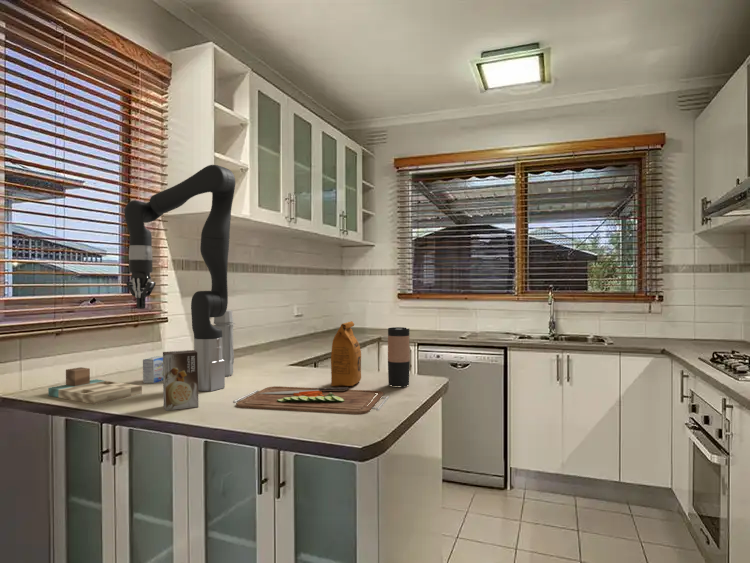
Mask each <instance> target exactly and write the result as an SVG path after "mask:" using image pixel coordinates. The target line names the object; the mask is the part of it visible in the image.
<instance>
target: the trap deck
mask: <svg viewBox="0 0 750 563" xmlns="http://www.w3.org/2000/svg"><path fill="white" fill-rule="evenodd" d="M47 391H48V392H47V393H48V396H49V397H52V398H53V397H54V398H58V399H65V400H70V401H75V402H81V403H87V404H91V405H97V404H103V403H107V402H111V401H116V400H120V399H124V398H125V399H126V398H129V397H133V396H137V395H142V393H143V386H142V385H138V384H130V383H123V382H117V381H110V380H103V379H98V378H97V379H90V384H85V385H79V386H70V385H66V384H63V385H62V384H61V385H56V386H52V387H48V390H47Z"/></svg>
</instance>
